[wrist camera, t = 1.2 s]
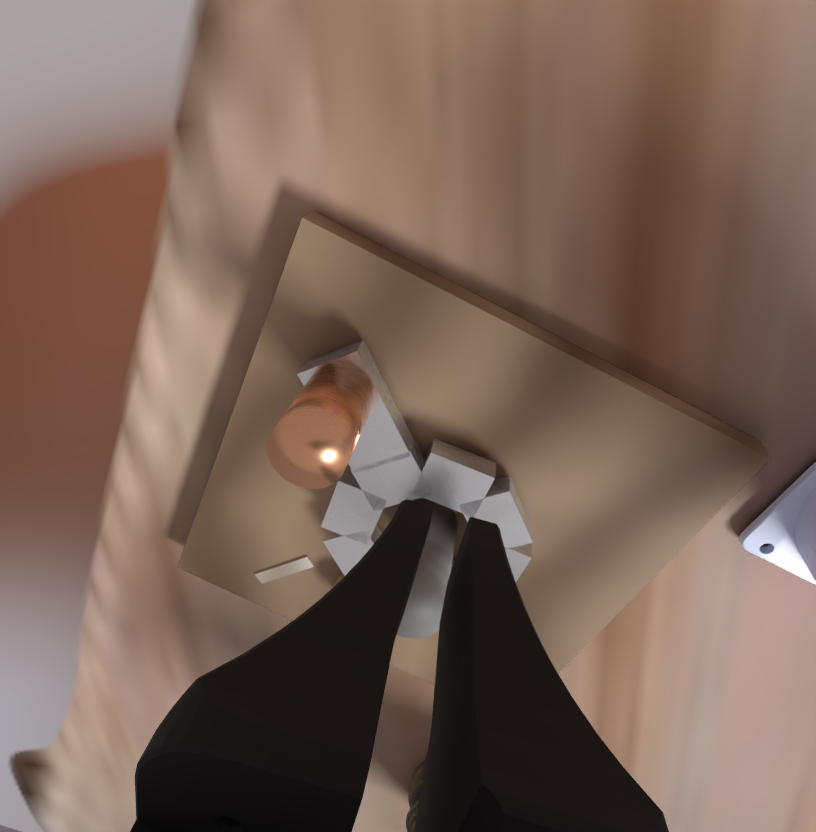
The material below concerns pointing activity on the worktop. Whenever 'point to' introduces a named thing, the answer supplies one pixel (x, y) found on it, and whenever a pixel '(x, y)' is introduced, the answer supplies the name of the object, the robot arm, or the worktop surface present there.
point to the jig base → (468, 430)
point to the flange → (381, 461)
